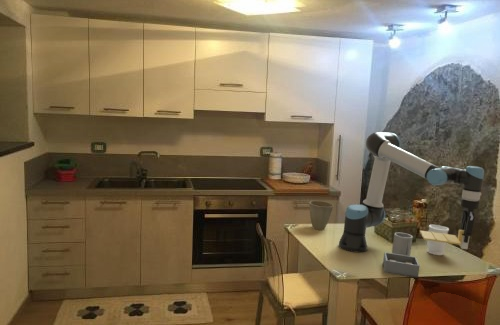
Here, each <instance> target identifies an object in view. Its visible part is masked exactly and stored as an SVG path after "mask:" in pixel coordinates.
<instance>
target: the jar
mask: <svg viewBox="0 0 500 325" xmlns="http://www.w3.org/2000/svg"><path fill="white" fill-rule="evenodd" d="M428 228H429V229H428V230H427V231H428V232H431V231H433V232H435V233H445V234H449V231H450V228H449V227H447V226H444V225H439V224H429V225H428ZM426 243H427V246H426V247H427V251H426V252H427V253H428V254H430V255H433V256H443V255H444V251H445V249H446V246H447V244H448V243H443V242H436V241H429V240H426Z"/></svg>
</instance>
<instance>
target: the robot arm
mask: <svg viewBox="0 0 500 325" xmlns="http://www.w3.org/2000/svg"><path fill="white" fill-rule="evenodd" d="M365 147H366V149H367V151H368V152H370V154H372V157H374V161H373V165H372V170H371V175H370V180H369V184H368V188H367V193H366V198H365V199H363V201H362V204H350V205H348V206H347V207H346V209H345V214H344V215H345V217H344V225H343V233H342V236H341V237H340V239H339V242H338V247H339V248H341V249H342V250H345V251H347V252H353V253H364V252H367V250H368V244H367V239H366V238H367V237H366V231H367V228H370V227H371V228H372V227H377V226H379V225H381V224H382V223H384V220H385V218H386V211H385V209H384V207H385V206H384V203H383V199H384V198H383V197H384V193H385V188H386V184H387V179H388V175H389V171H390V165H391V162H393V163H394V164H396V165H399V166H400V167H402V168H404V169H406V170H408V171H410V172H412V173H414V174H416V175H418V176H420V177H422V178H424V179H426V180H427V182H428V183H429V184H431V185H432V186H441V185H449V184H454V185H461V186H463V188H462V191H461V192H462V194H461V200H460V207H461V208H464V209H462V210H461V220H460V228H459V230H464V234H462V235H463V237H462V242H461V245H458V247H460V249H463V250H468V248H469V243H470V238H469V236H470V237H471V236H472V233H473V228H474V222H475V219H476V216H475V212H474V210H478V209H479V207H480V200H481V196H482V195H483V194H482V189H483V188H482V187H483V182H484V179H485V178H484V175H485V169H484V168H483V167H480V166H476V165H475V166H474V165H468V166H466V167H465V169H462V168H459V167H452V166H446V165H445V166H444V165H443V166H438V165H435V164H433V163H432V162H429V161H427V160H425V159H423V158H421V157H419V156H417V155H414V154H413V153H411V152H408V151H406V150H404V149H402V141H401V139H400V137H399V136H398V135H397V134H396V133H393V132H390V131H389V132H388V131H387V132H385V131H384V132H382V131H381V132H380V131H379V132H378V131H377V132H372V133H371V134H370V135H368V137H367V138H366V140H365ZM468 242H469V243H468Z"/></svg>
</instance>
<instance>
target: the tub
mask: <svg viewBox="0 0 500 325" xmlns="http://www.w3.org/2000/svg"><path fill="white" fill-rule="evenodd" d="M382 266H383V271H384V274H385V273H386V274H391V275H396V276H397V275H398V276H403V277H409V278H414V279H415V278H416V279H418V278H419V273H420V267H421V266H420V263H419V260H418V258H417V257H416V256H412V255H410V256H405V255H399V254H392V252H384V254H383V260H382Z"/></svg>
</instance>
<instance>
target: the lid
mask: <svg viewBox="0 0 500 325" xmlns="http://www.w3.org/2000/svg"><path fill="white" fill-rule="evenodd" d="M428 231H429V230H419V233H420V235H421V237H422V239H423V240H424V241H427V240H429V241H436V242H443V243H447V244H451V245H458V246H459V245H461V242H462V237H463V235H462V234H464V230H460V229H458V231H457V232H458V234H457V235H456V234H449V233H448V234H445V233H435V232H433V231H431V232H428ZM470 238H471V236H469V239H470ZM469 243H470V241H469V242H468V244H469Z"/></svg>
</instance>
